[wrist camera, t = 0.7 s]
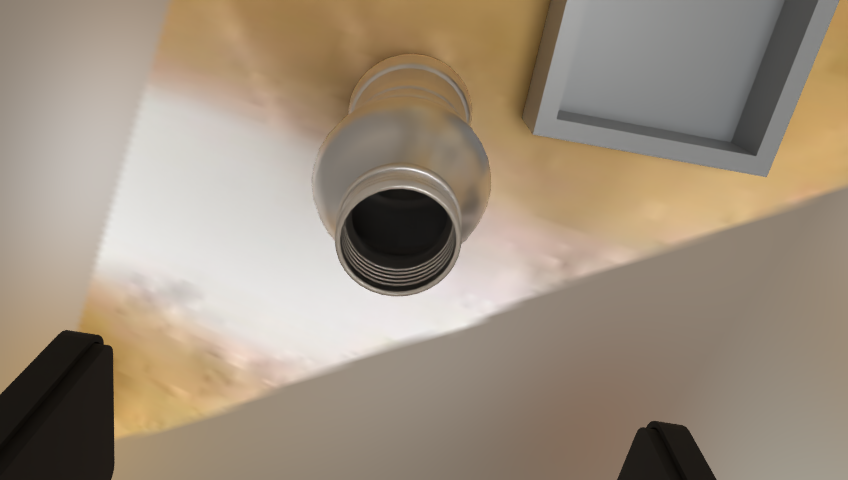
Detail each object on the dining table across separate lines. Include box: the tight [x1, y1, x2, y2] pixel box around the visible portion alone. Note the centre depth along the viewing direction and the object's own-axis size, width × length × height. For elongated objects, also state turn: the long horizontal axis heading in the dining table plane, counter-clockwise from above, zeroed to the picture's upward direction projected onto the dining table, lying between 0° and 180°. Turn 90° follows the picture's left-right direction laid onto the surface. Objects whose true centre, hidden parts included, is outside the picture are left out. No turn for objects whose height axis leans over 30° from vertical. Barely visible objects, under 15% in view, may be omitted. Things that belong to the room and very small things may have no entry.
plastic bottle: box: [312, 54, 491, 296], centre depth 28 cm, size 6×7×20 cm
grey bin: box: [522, 0, 839, 177], centre depth 33 cm, size 15×13×4 cm
